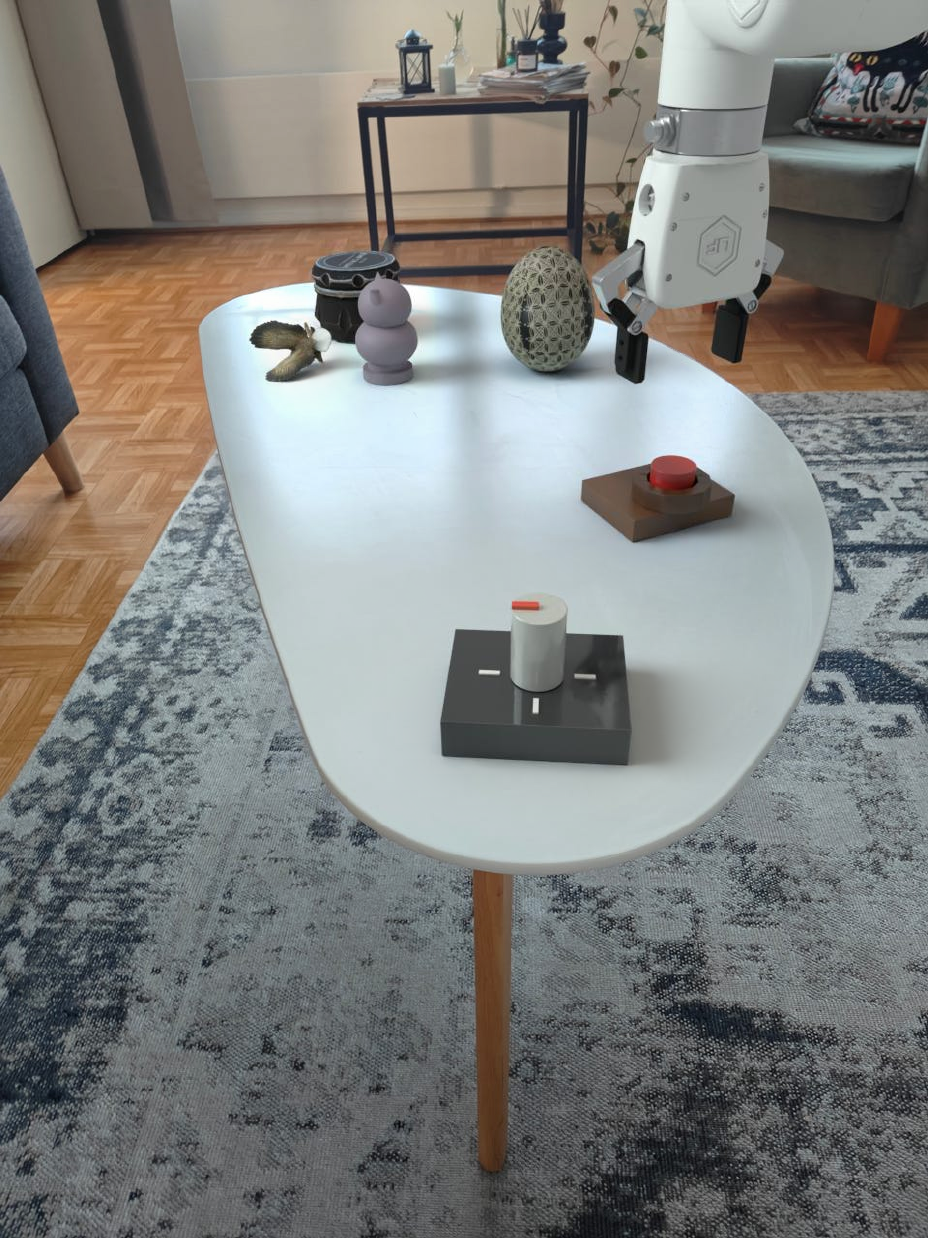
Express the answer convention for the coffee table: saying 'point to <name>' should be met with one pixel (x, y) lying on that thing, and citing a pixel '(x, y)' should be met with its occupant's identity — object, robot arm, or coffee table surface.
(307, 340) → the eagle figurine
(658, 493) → the power block
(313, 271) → the container
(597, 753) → the hob panel
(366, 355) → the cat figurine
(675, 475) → the power button
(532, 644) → the hob knob
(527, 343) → the decorative egg
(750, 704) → the coffee table surface
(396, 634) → the coffee table surface
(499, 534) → the coffee table surface
